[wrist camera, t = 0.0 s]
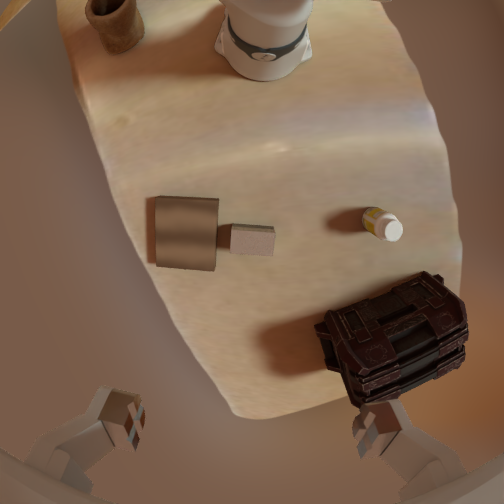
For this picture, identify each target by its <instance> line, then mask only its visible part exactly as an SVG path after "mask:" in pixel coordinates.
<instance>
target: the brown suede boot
mask: <svg viewBox="0 0 504 504" xmlns="http://www.w3.org/2000/svg"><path fill="white" fill-rule="evenodd" d="M85 14H86V17H87V19H88V21H89V22H90V23H91V25H92V26H93V27H94V28H96V29H97V30H98V31H99V34H100V38H101V41H102V43H103V46H104V48H105V50H106V51H107V52H108V53H109V54H118V53H121V52H124V51H126V50H128V49H129V48H131V47H133V46H134V45H136V44H137V43H138V41H139V40H140V39H142V38H143V36H144V23H143V20H142V17H141V15H140V13H139V11H138V9H137V7H136V0H88V2H87V4H86V7H85Z"/></svg>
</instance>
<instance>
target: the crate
mask: <svg viewBox="0 0 504 504" xmlns="http://www.w3.org/2000/svg"><path fill="white" fill-rule="evenodd" d="M324 319H325V322H322V323H320V324H317V325H314V328H315V331H316V334H317V337H319V338H320V341H321V345H322V348H323V351H324V354H325V359H324V360H325V363H326V366H327V369H328V370H331V371H335V372H338V373H340V374H341V377H342V379H343V382H344V385H345V388H346V390H347V393H348V396H349V398H350V401H351V404H353V405H354V406H356V407H357V408H359V409H360V407H361V406H362V405H363V404H365V403H372V402H379V401H387V400H393V399H398V397H399V396H400V395H401V394H403V393H405V392H407V391H409V390H411V389H413V388H415V387H417V386H419V385H421V384H423V383H425V382H427V381H429V380H431V379H434V380H436V379H438V378H439V377H441V376H443V375H445V374H447V373H448V372H450V371H452V370H453V369H458V368H459V367H460V366H461V363H462V362H464V360H465V355H466V354H465V346H464V345H463V344H464V343H465V341H467V340H468V335H469V331H468V323H467V314H466V309H465V304H464V302H463V301H462V300H461V299H460V298H458V297H457V296H456V295H455V294H454V293H453V292H451V291H450V290H449V289H448V288H447V287H445V286H444V278H443V277H441V276H440V275H439V274H437V275H435V276H432V275H430V274H429V273H427V272H426V271H424V272H423V273H422V275H421V276H419V277H417V278H415V279H412V280H410V281H408V282H406V283H403V284H401V285H399V286H397V287H394V288H392V289H391V292H388V293H386V294H384V295H381V296H379V297H376V298H374V299H372V300H369V299H365V300H363V301H360V302H358V303H355V304H353V305H350V306H348V307H345V308H342V309H340V310H337V311H331V310H328V312H327V313H326V315H325V317H324ZM330 340H331V341H332V344H333V348H334V352H335V355H334V352H333V349H332V345H331V341H330Z"/></svg>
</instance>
